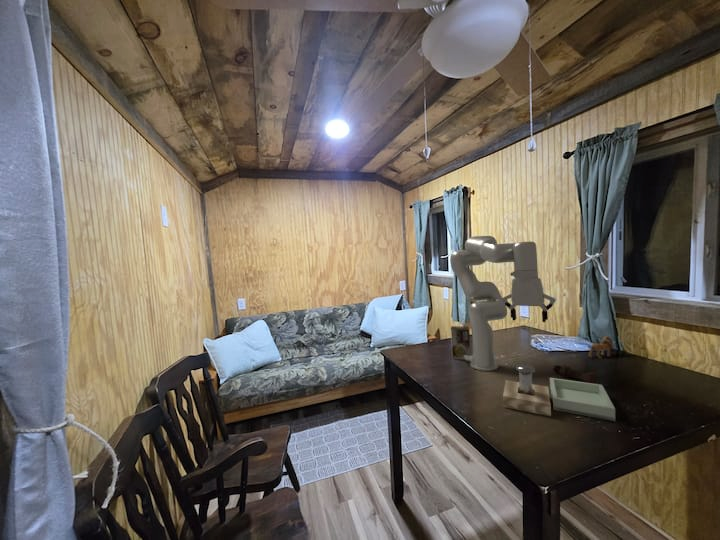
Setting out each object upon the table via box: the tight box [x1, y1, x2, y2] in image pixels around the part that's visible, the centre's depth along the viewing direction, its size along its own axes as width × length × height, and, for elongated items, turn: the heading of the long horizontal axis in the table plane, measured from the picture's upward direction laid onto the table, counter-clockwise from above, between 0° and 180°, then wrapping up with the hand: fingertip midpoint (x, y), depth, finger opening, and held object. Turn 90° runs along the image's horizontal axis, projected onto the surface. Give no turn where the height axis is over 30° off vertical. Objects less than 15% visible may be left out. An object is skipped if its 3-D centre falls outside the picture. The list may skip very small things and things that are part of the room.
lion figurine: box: [588, 335, 613, 359], centre depth 139 cm, size 15×5×9 cm, turn 111°
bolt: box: [552, 365, 598, 384], centre depth 117 cm, size 6×5×15 cm
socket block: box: [502, 379, 552, 417], centre depth 102 cm, size 14×14×4 cm
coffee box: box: [450, 325, 472, 360], centre depth 148 cm, size 9×6×16 cm
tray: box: [549, 377, 616, 422], centre depth 99 cm, size 16×18×4 cm
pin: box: [515, 363, 536, 396], centre depth 101 cm, size 6×6×13 cm
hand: (528, 320), depth 104 cm, fingers open, 9 cm apart
